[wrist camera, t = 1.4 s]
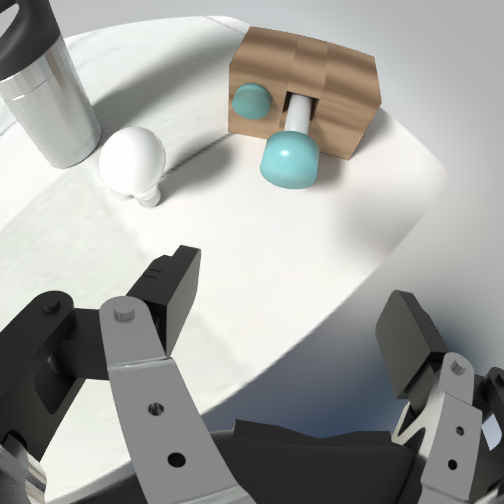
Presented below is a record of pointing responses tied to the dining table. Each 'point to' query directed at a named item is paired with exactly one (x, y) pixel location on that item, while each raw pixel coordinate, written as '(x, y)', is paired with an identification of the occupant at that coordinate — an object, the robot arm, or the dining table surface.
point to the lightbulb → (134, 164)
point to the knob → (292, 149)
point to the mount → (302, 88)
